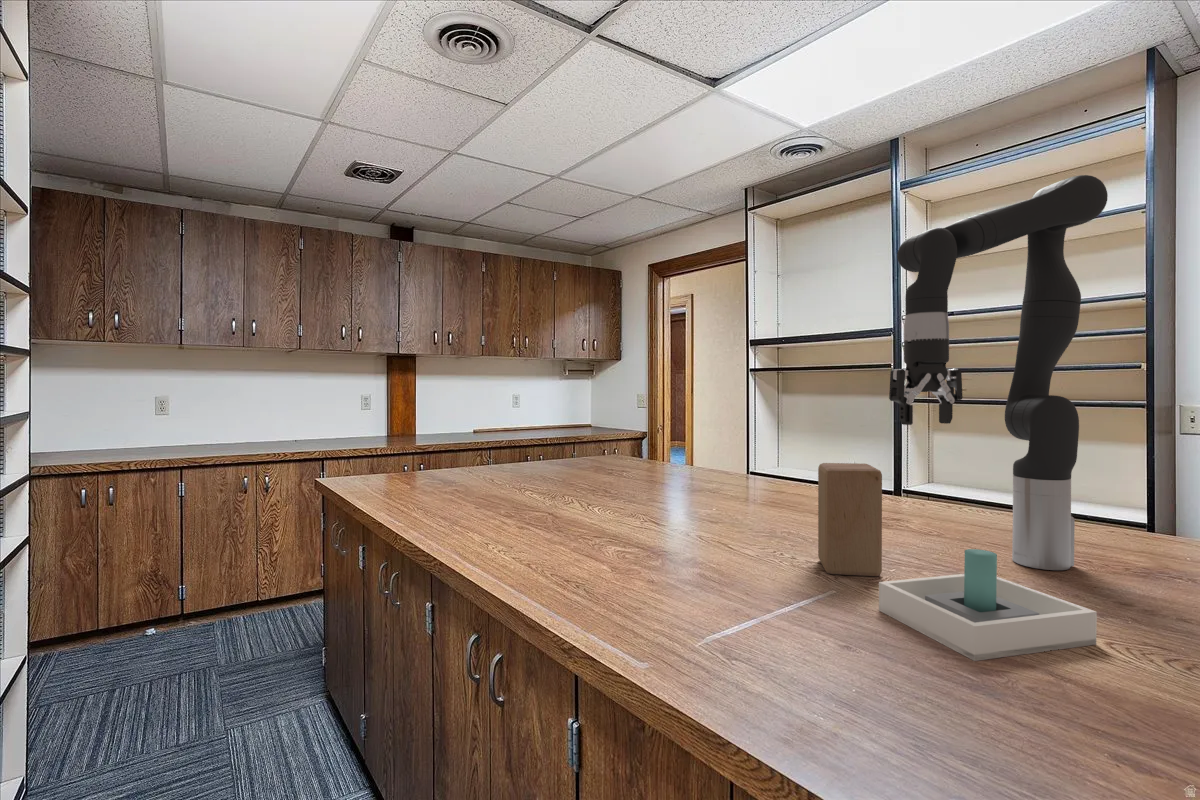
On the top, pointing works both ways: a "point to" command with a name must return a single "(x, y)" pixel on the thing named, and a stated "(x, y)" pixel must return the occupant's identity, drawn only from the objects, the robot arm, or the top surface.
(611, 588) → the top surface
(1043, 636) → the bin
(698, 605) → the top surface
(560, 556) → the top surface
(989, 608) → the peg
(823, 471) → the wooden block
